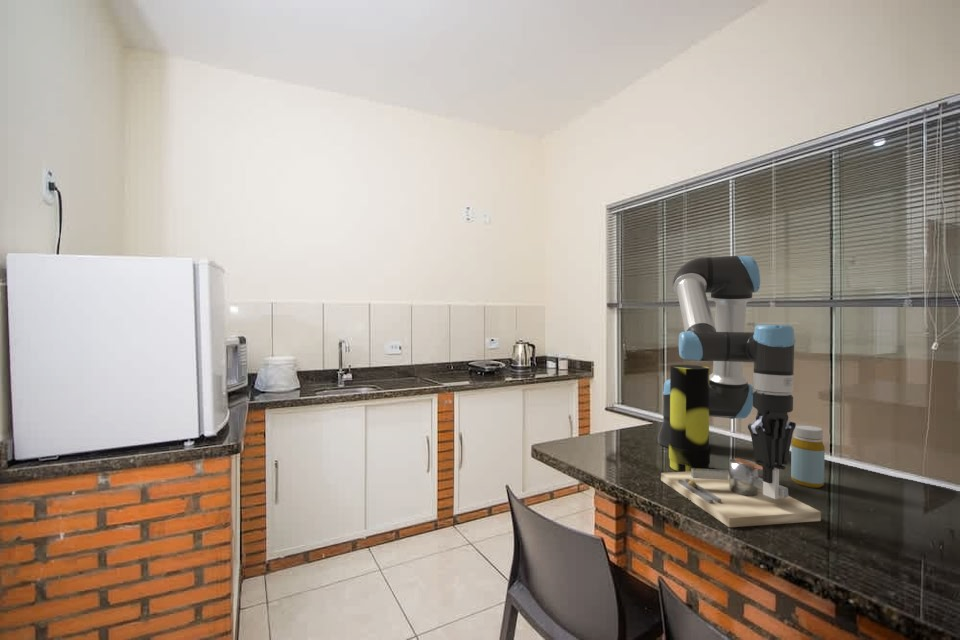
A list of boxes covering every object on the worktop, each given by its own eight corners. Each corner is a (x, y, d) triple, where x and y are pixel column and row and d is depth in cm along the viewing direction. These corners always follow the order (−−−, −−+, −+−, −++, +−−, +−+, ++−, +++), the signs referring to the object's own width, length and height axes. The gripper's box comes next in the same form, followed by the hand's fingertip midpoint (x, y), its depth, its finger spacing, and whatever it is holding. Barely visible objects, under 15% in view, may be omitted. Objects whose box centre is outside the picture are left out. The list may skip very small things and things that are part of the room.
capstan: (689, 485, 106) (689, 456, 106) (744, 474, 113) (744, 447, 113) (755, 515, 90) (755, 480, 90) (814, 500, 98) (814, 468, 98)
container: (660, 464, 127) (661, 365, 127) (689, 460, 131) (689, 364, 131) (688, 477, 117) (689, 369, 117) (718, 473, 121) (719, 368, 120)
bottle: (830, 489, 109) (830, 431, 109) (799, 487, 111) (800, 430, 111) (814, 479, 116) (815, 425, 116) (786, 477, 118) (786, 423, 117)
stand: (660, 480, 115) (660, 466, 115) (737, 476, 118) (737, 462, 118) (729, 527, 90) (729, 509, 90) (824, 520, 93) (824, 503, 93)
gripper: (770, 396, 90) (768, 507, 90) (808, 394, 95) (806, 499, 95) (737, 390, 97) (735, 493, 97) (775, 388, 102) (773, 486, 102)
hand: (770, 496), depth 96 cm, fingers closed
